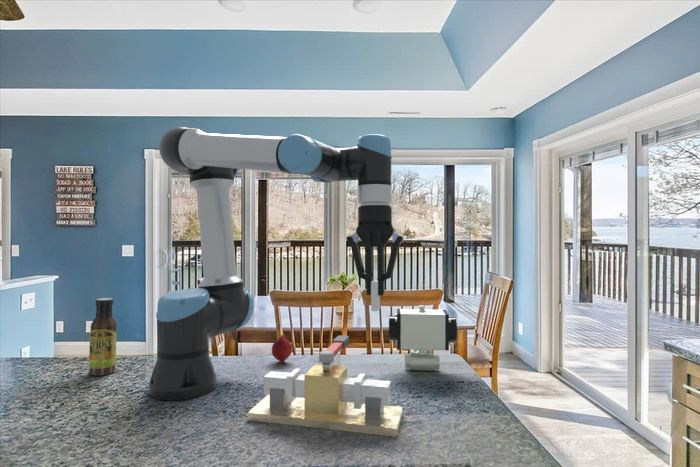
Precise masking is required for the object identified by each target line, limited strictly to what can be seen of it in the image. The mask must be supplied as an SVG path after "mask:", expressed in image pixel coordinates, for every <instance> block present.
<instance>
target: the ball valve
mask: <svg viewBox="0 0 700 467" xmlns="http://www.w3.org/2000/svg"><path fill="white" fill-rule="evenodd" d="M418 307H419V308H416V309H415V308H414V309H413V308H410V309H409V308H397V309H396V313H395V314H394V315H388V341H389V342H391V341H392V342H395V343H394V344H396V347H397V348H396V349H397V350H410V351H411V350H413V352H409V353H404V368H405V369H406V370H407V369H408V370H409V369H410V371H421V372H422V371H426V372H434V371H435V370H436V371H437V370H440V366H441V363H440V362H441V361H440V355H438V354H434V352H433V353H432V351H450V348H449V347H450V346H451V344H452V343H457V339H458V323H457V318H456V317H454V316H450V313H448V311H447V310H446V309H426V308H425V305H424V304H423V305H422V304H420V305H418Z"/></svg>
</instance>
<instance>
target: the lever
mask: <svg viewBox="0 0 700 467" xmlns="http://www.w3.org/2000/svg"><path fill="white" fill-rule="evenodd" d="M349 344H350V335H340V334H339V335H337V336H336V337H335V338H334V339H333V340H332V343H331V344H330V345H329V346H328V347H327V348H326V349H325V350H322V351H319V353H318V362H319V363H320V364H323V363H330V364H331V363H333V362H335V360H334V359H335V357H336V356H337V355H338V354H339V352H340V351H341V350H345V349H346V348H347V346H349Z"/></svg>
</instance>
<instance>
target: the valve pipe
mask: <svg viewBox="0 0 700 467" xmlns="http://www.w3.org/2000/svg"><path fill="white" fill-rule="evenodd" d="M263 394H264V395H266V396H264V398H262V399H261V400H259V402H258V403H257V404H255V405H254V406H253V407H252V408H251V409H250V410H249V411H248V412H247V421H252V422H255V421H256V422H262V423H269V424H270V423H271V424H278V425H279V424H281V425H287V426H288V425H289V426H297V427H306V428H315V429H325V430H331V431H341V432H351V433H358V434H359V433H360V434H368V435H378V436H386V437H395V438H397V437H398V433H399V430H400V425H401V421H402V419H403V415H402V414H403V412H404V411H403V410H404V409H403V408H404V407H403V406H396V405H390V402H391V400H392V381H391V380H380V379H369V378H366V373H359V374H358V375H357V377H348V366H345V365H331V363H322V364H321V363H319V364H316V363H315V364H313V366H312V367H311V368H310V369H308V370H307V372H306V373H302V368H297V367H296V368H294V369H293V370H292V371H291V372H284V371H269V372H268V373H266V374H265V375H264V376H263Z"/></svg>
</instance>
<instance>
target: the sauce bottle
mask: <svg viewBox="0 0 700 467" xmlns="http://www.w3.org/2000/svg"><path fill="white" fill-rule="evenodd" d="M113 304H114V299H113V298H112V297H100V298H96V299H95V308H96V309H95V318H94V319H93V321H92V322H91V323H90V331H89V352H88V354H89V355H88V368H89V369H88V371H89V372H88V373H89V374H90V375H91V376H105V375H106V376H107V375H110V374H112V373H114V372H115V370H116V362H117V334H118V333H117V322H116V320H115V318H114V317H113Z"/></svg>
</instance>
